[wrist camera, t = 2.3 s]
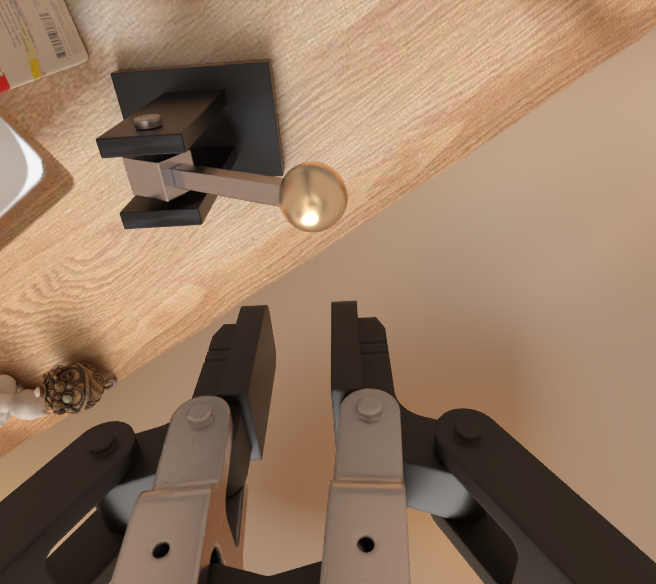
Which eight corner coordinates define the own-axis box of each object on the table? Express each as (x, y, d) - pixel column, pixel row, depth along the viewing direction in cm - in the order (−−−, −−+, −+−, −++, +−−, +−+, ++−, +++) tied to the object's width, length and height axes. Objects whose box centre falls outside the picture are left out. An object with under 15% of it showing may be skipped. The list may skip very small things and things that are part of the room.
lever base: (271, 59, 34) (242, 96, 23) (284, 170, 38) (265, 245, 27) (117, 70, 34) (18, 112, 24) (147, 179, 39) (76, 256, 28)
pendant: (20, 388, 47) (36, 353, 45) (98, 379, 53) (115, 348, 51) (34, 431, 45) (52, 396, 43) (114, 416, 51) (133, 385, 49)
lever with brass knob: (358, 156, 22) (322, 179, 20) (360, 221, 24) (327, 249, 21) (158, 133, 28) (112, 150, 26) (171, 186, 30) (130, 206, 27)
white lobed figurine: (-34, 425, 50) (54, 431, 53) (-44, 429, 44) (55, 436, 48) (-19, 372, 51) (65, 382, 55) (-27, 370, 45) (68, 380, 49)
